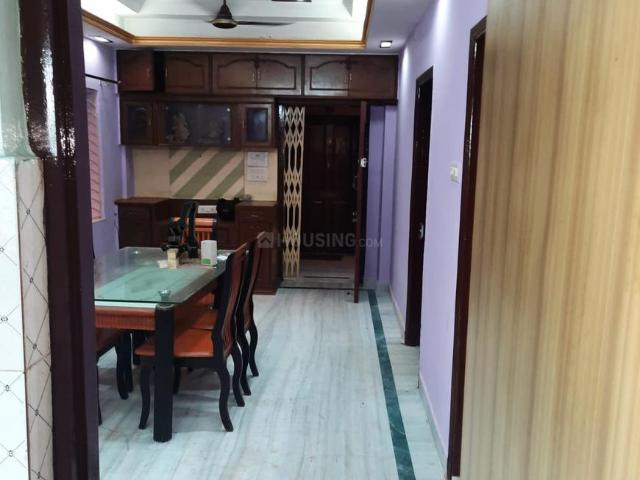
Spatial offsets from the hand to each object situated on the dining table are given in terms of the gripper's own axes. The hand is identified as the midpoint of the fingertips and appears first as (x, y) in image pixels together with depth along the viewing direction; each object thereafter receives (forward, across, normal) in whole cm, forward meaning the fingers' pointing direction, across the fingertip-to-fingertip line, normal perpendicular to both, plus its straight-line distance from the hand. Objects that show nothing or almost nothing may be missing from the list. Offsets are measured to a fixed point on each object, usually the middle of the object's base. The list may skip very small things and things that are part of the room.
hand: (172, 258), depth 350 cm
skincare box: (-4, +20, +14) cm, 25 cm away
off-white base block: (-1, -8, +10) cm, 13 cm away
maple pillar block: (+4, 0, +6) cm, 7 cm away
